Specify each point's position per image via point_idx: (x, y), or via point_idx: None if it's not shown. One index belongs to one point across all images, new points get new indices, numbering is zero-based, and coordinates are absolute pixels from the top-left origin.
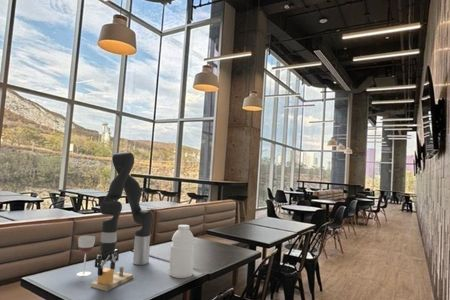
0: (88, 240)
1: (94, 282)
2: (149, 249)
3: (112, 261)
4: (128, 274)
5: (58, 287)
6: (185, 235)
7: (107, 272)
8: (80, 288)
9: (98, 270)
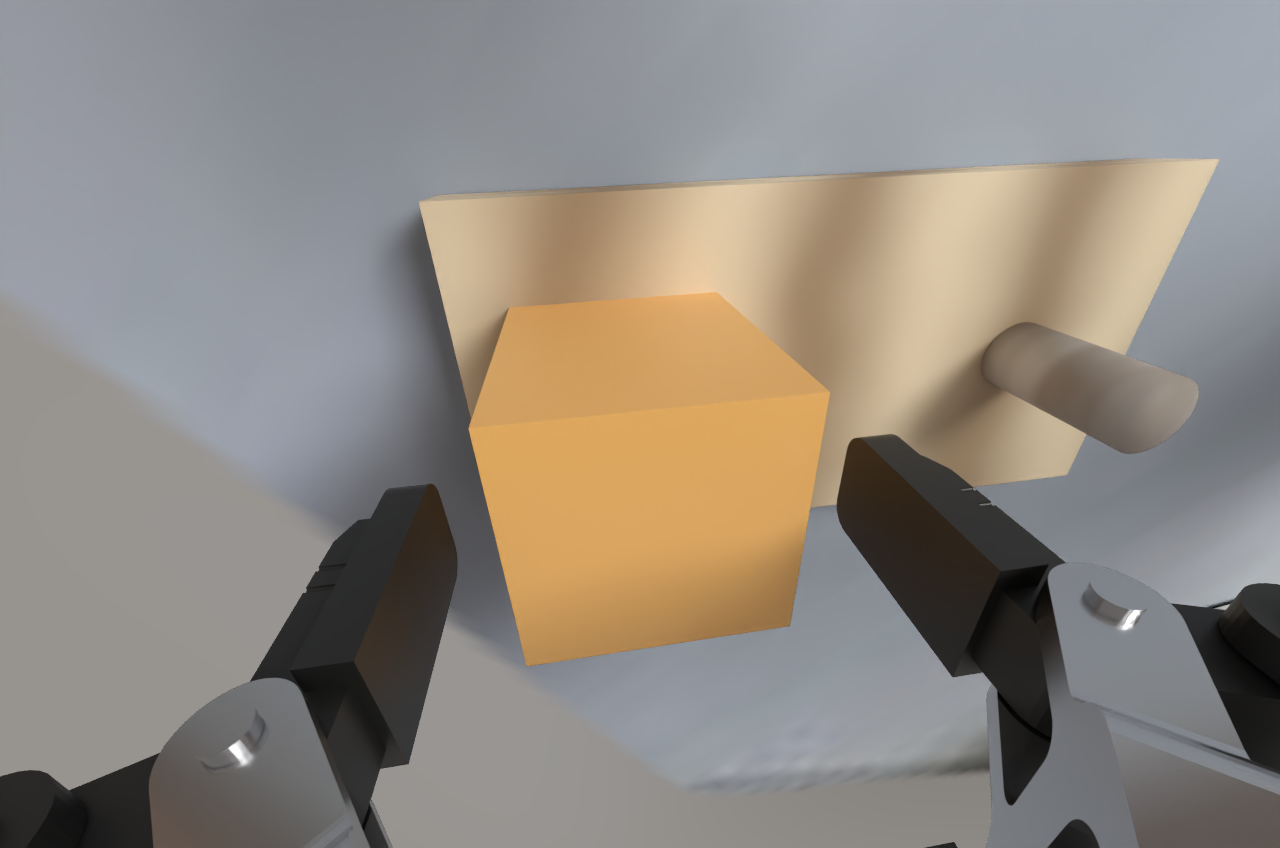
0: None
1: (476, 251)
2: None
3: (1041, 682)
4: (1055, 427)
5: None
6: None
7: (564, 646)
8: (223, 62)
9: (295, 647)
